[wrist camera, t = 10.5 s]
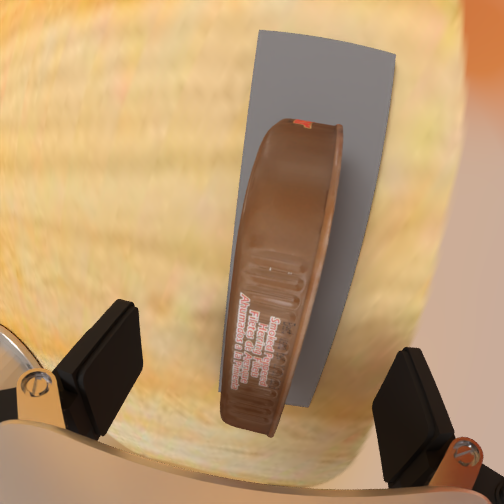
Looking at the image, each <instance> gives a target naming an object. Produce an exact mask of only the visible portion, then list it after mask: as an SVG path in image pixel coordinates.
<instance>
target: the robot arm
mask: <svg viewBox="0 0 504 504" xmlns="http://www.w3.org/2000/svg"><path fill="white" fill-rule="evenodd" d="M142 368H143V356H142V347H141V336H140V325H139V311H138V308H137V307H135V306H134V303H133V302H129V301H125V300H121V299H118V300H116V301H115V302H114V303H113V304H112V306H111V307H110V308H109V309H108V310H107V311H106V312H105V313H104V314H103V315H102V317H101V318H100V319H99V320H98V321H97V322H96V323H95V324H94V325H93V327H92V328H90V329H89V330H88V331H87V332H86V333H85V334H84V335H83V337H82V338H81V339H80V340H79V341H78V342H77V343H76V345H75V346H74V347H73V348H72V349H71V350H70V351H69V353H68V354H67V355H66V356H65V357H64V358H63V360H62V361H61V362H60V363H59V364H58V365H57V367H56V368H55V369H54V370H53V371H52V372H50V371H49V370H47V369H43V368H41V367H40V365H39V364H38V362H37V361H36V359H35V358H34V357H33V355H32V354H31V353H30V352H29V351H28V349H27V348H26V347H25V346H24V345H23V344H22V343H21V342H20V341H19V339H17V338H16V337H15V336H14V335H13V334H12V333H11V332H10V331H8V330H7V329H6V328H4V327H3V326H1V325H0V504H504V477H503V476H501V475H500V474H498V473H497V472H495V471H493V470H492V469H490V468H489V467H487V466H485V465H484V464H482V462H483V451H482V449H481V447H480V446H479V444H478V443H477V442H475V441H474V440H473V439H470V438H468V437H459V438H455V435H454V429H453V426H452V424H451V421H450V418H449V416H448V413H447V410H446V408H445V405H444V403H443V400H442V398H441V395H440V393H439V390H438V388H437V386H436V383H435V381H434V378H433V376H432V374H431V371H430V369H429V367H428V365H427V362H426V360H425V358H424V356H423V354H422V351H421V350H420V349H419V348H411V347H405V348H404V349H403V350H402V351H399V352H398V353H397V355H396V358H395V360H394V362H393V364H392V366H391V368H390V370H389V372H388V374H387V376H386V378H385V380H384V382H383V384H382V386H381V388H380V390H379V392H378V393H377V395H376V397H375V399H374V401H373V405H372V411H373V416H374V422H375V427H376V433H377V438H378V445H379V451H380V457H381V464H382V470H383V477H384V481H385V482H388V487H389V489H363V490H335V489H311V488H297V487H285V486H276V485H267V484H259V483H252V482H246V481H240V480H233V479H228V478H223V477H218V476H213V475H208V474H203V473H199V472H194V471H190V470H186V469H182V468H178V467H175V466H171V465H167V464H163V463H160V462H157V461H153V460H150V459H147V458H144V457H141V456H138V455H135V454H132V453H129V452H126V451H123V450H120V449H117V448H114V447H111V446H108V445H106V444H103V443H100V442H98V439H99V437H100V435H101V436H104V435H105V434H106V433H107V431H108V429H109V427H110V426H111V424H112V422H113V420H114V418H115V417H116V415H117V413H118V411H119V410H120V408H121V406H122V404H123V403H124V401H125V399H126V397H127V395H128V394H129V392H130V390H131V388H132V387H133V385H134V383H135V382H136V380H137V378H138V376H139V375H140V373H141V371H142Z"/></svg>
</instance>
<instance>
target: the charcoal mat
mask: <svg viewBox="0 0 504 504" xmlns="http://www.w3.org/2000/svg"><path fill="white" fill-rule="evenodd" d="M395 58H396V54H393V53H389V52H385V51H382V50H378V49H374V48H370V47H366V46H362V45H357V44H353V43H348V42H343V41H338V40H333V39H327V38H322V37H315V36H309V35H302V34H295V33H286V32H277V31H266V30H259V34H258V41H257V48H256V56H255V63H254V70H253V78H252V85H251V93H250V101H249V108H248V116H247V124H246V132H245V140H244V149H243V157H242V165H241V174H240V182H239V191H238V200H237V209H236V218H235V227H234V236H233V245H232V255H231V264H230V274H229V284H228V294H227V304H226V314H225V324H224V335H223V346H222V357H221V368H220V379H219V391H218V392H221V386H222V373H223V360H224V350H225V338H226V328H227V318H228V309H229V300H230V292H231V282H232V275H233V266H234V256H235V249H236V242H237V235H238V229H239V224H240V218H241V213H242V208H243V203H244V198H245V194H246V189H247V185H248V181H249V178H250V174H251V171H252V167H253V164H254V161H255V158H256V155H257V152H258V149H259V147H260V145H261V142H262V140H263V138H264V136H265V135H266V133H267V131H268V130H269V129H270V128H271V127H272V126H274V125H275V124H276V123H277V122H279V121H280V120H282V119H285V118H291V119H299V120H305V121H310V122H316V123H321V124H327V125H333V126H335V125H337V124H340V125H342V126H343V152H342V161H341V170H340V177H339V184H338V189H337V196H336V204H335V211H334V215H333V220H332V226H331V232H330V237H329V242H328V247H327V252H326V257H325V261H324V265H323V269H322V274H321V278H320V282H319V286H318V290H317V293H316V298H315V301H314V304H313V308H312V312H311V316H310V320H309V324H308V328H307V331H306V334H305V338H304V341H303V345H302V349H301V352H300V356H299V359H298V362H297V366H296V369H295V372H294V376H293V379H292V382H291V386H290V390H289V393H288V396H287V398H286V402H285V404H287V405H293V406H300V407H309V405H310V402H311V400H312V397H313V395H314V392H315V390H316V387H317V384H318V382H319V379H320V376H321V374H322V371H323V368H324V365H325V363H326V360H327V357H328V354H329V351H330V348H331V346H332V343H333V340H334V337H335V334H336V331H337V328H338V325H339V321H340V318H341V315H342V312H343V309H344V306H345V302H346V299H347V296H348V292H349V289H350V286H351V282H352V279H353V275H354V272H355V268H356V264H357V261H358V257H359V253H360V250H361V246H362V242H363V238H364V234H365V230H366V226H367V222H368V218H369V213H370V209H371V205H372V200H373V196H374V191H375V186H376V181H377V177H378V172H379V166H380V161H381V156H382V150H383V145H384V139H385V133H386V127H387V121H388V114H389V107H390V100H391V93H392V85H393V77H394V68H395Z"/></svg>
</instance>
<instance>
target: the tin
mask: <svg viewBox="0 0 504 504" xmlns="http://www.w3.org/2000/svg"><path fill="white" fill-rule="evenodd" d="M342 152H343V126H342V125H340V124H337V125H335V126H333V125H327V124H321V123H316V122H310V121H305V120H299V119H291V118H285V119H282V120H280V121H279V122H277V123H276V124H275V125H274V126H272V127H271V128H270V129H269V130H268V131H267V133H266V135H265V136H264V138H263V140H262V142H261V145H260V147H259V149H258V152H257V155H256V158H255V161H254V164H253V167H252V171H251V174H250V178H249V181H248V185H247V189H246V194H245V198H244V203H243V208H242V213H241V218H240V224H239V229H238V235H237V242H236V249H235V256H234V266H233V275H232V282H231V292H230V300H229V309H228V318H227V328H226V338H225V350H224V360H223V373H222V386H221V399H220V414H221V418H222V420H223V421H224V422H225V423H227V424H229V425H231V426H234V427H237V428H241V429H245V430H249V431H253V432H257V433H262V434H266V435H267V436H268V437H270V438H272V437H273V436H274V434H275V432H276V429H277V426H278V423H279V420H280V417H281V414H282V411H283V408H284V405H285V402H286V398H287V396H288V393H289V390H290V386H291V382H292V379H293V376H294V372H295V369H296V366H297V362H298V359H299V356H300V352H301V349H302V345H303V341H304V338H305V334H306V331H307V328H308V324H309V320H310V316H311V312H312V308H313V304H314V301H315V298H316V293H317V290H318V286H319V282H320V278H321V274H322V269H323V265H324V261H325V257H326V252H327V247H328V242H329V237H330V232H331V226H332V220H333V215H334V211H335V204H336V196H337V189H338V184H339V177H340V170H341V161H342Z"/></svg>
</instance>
